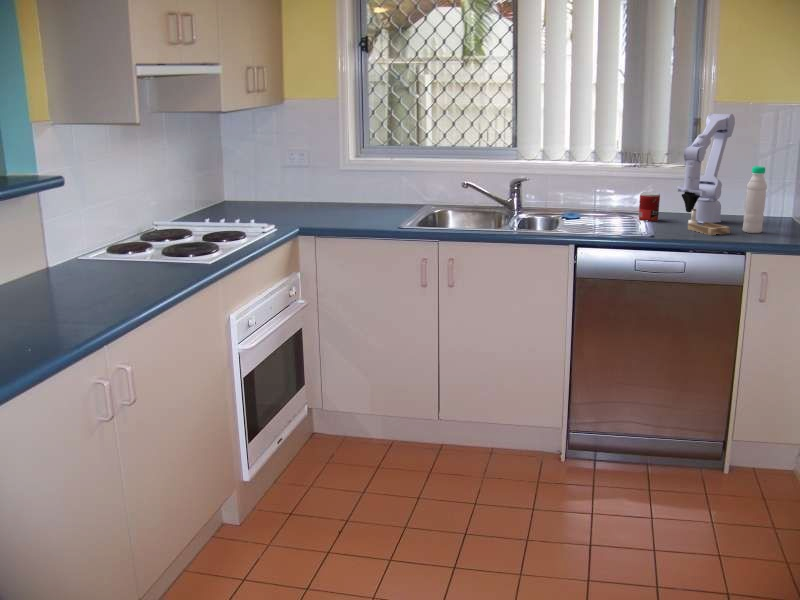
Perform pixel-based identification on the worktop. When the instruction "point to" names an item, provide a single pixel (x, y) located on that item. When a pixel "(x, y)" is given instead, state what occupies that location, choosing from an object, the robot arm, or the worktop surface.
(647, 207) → the canned food
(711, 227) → the cradle
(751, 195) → the water bottle
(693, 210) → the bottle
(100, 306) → the worktop surface
